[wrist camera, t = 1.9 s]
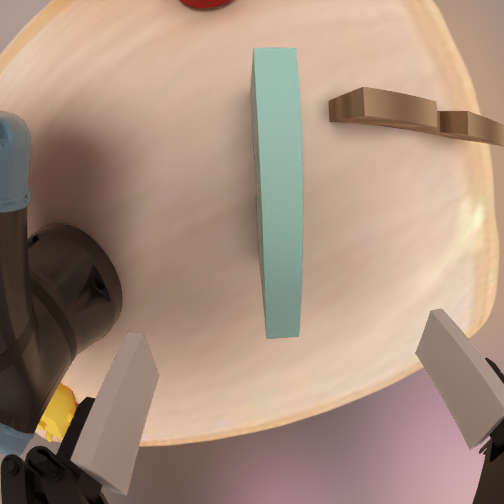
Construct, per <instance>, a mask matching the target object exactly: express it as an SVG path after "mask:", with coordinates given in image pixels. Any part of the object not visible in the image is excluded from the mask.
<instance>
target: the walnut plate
mask: <svg viewBox="0 0 504 504" xmlns="http://www.w3.org/2000/svg"><path fill="white" fill-rule="evenodd" d="M329 115H330V122H344V123H357V124H368V125H378V126H386V127H394V128H401V129H408V130H414V131H420V132H426V133H431V134H436V135H441V136H446V137H450V138H455V139H461V140H468V141H475V142H482V143H488V144H493V145H499V146H504V125H502V124H500V123H498V122H495V121H493V120H490V119H488V118H485V117H483V116H480V115H477V114H474V113H471V112H469V111H437V107H436V101H432V100H428V99H424V98H420V97H416V96H411V95H407V94H402V93H397V92H392V91H386V90H380V89H374V88H367V87H362V88H359V89H357V90H354V91H352V92H349V93H347V94H344V95H342V96H339V97H337V98H335V99H332V100H330V101H329Z"/></svg>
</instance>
